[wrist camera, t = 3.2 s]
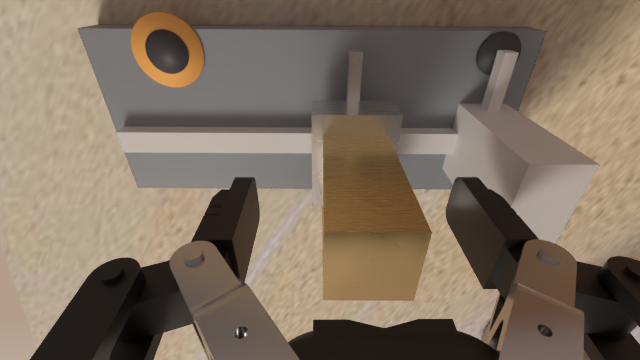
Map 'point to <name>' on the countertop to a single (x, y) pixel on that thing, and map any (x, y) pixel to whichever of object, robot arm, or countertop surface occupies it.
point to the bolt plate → (331, 84)
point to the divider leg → (365, 198)
